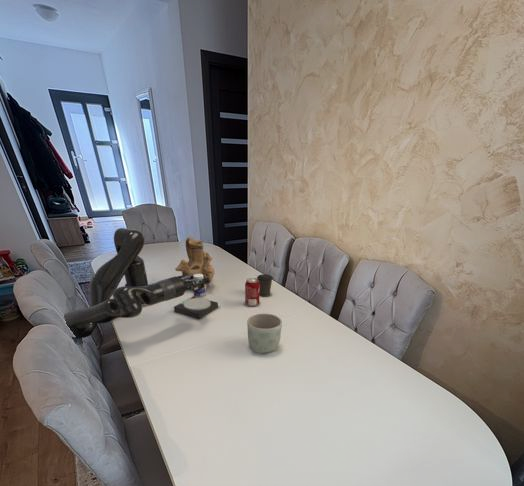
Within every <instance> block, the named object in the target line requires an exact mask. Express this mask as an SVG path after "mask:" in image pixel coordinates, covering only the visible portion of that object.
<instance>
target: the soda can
mask: <svg viewBox="0 0 524 486" xmlns="http://www.w3.org/2000/svg"><path fill="white" fill-rule="evenodd" d="M260 297H261V296H260V283H259V282H258V279H257V277H256V278H255V277H248V278H247V279H246V281H245V283H244V302H245V305H246V306H249V307H257V306H258V305H260Z"/></svg>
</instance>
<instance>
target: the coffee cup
mask: <svg viewBox="0 0 524 486" xmlns="http://www.w3.org/2000/svg"><path fill="white" fill-rule="evenodd" d="M256 279H258V282H259V283H260V297H269V296H270V295H271V288H272V282H273V280H274V277H273V276H272V275H270V274H265V273H264V274H258V275H257V277H256Z"/></svg>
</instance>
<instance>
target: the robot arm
mask: <svg viewBox="0 0 524 486" xmlns="http://www.w3.org/2000/svg"><path fill="white" fill-rule="evenodd" d="M113 244H114V247H115V248H114V249H115V251H116V254H115V255H114V256H113V257H112V258H110V259H109V260H108V261H106V262H104V263H103V264H102V265H101V266H100V267H99V268H97V270H96V271H95V273H94V274H93V277H92V278H91V280H90V282H89V286H88V287H89V288H88V291H89V299H90V300H89V302H90V305H89V307H83V308H78V309H74V310H70V311H67V312H65V313H64V314H63V315H64V318H65V321H66V324H67V326H68V327H69V328H70V330H71V331H72V332H73V334H74V335H75V336H76V337H75V338H74V339H84V338H87V337H90V336H91V335H92V334H93V333H94V331H95V329H96V326H97V324H105V323H109V322H112V321H114V320H116V319H132V318H136V317H138V316H139V315H141V313H142V312H143V307H145V306H153V305H156V304H160V303H163V302H168V301H171V300H174V299H176V298H179V297H182V296H184V295H185V293H186V291H191V290H192V291H193V290H194V292H197V291H199V290H201V289H203V288H205V287H204V284H207V283H209V278H208V277H207V278H203V279H200V280H196V279H194V278H193V275H192V276H190V275H189V276H187V275H182V274H181V275H177V276H171V277H169V278H165V279H161V280H159V281H157V282H153V283H150V284H149V280H148V276H147V270H146V265H145V260H144V259H143V258H142V257H140V256H139V254H141V252H142V250H143V249H144V246H145V235H144V234H143V233H142V232H141V231H139V230H137V229H132V228H126V227H119V228H117V229H116V230H115V232H114V234H113ZM123 278H124V280H125V284H124V285H123V286H119V285H120V283H121V281H122V279H123ZM193 282H194V285H193ZM197 282H199V283H197ZM209 284H210V283H209ZM112 296H113V298H112Z"/></svg>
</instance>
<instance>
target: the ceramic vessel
mask: <svg viewBox="0 0 524 486" xmlns="http://www.w3.org/2000/svg"><path fill="white" fill-rule="evenodd" d="M185 250H186V255H187V259H188V261H186V260H185V259H181V260H180V263H179V264H178V265H177V266H176V267H175V268H174V270H175V271H176V272H181V276H182V275H187V276H189V275H190V276H192V275H195V274H203V277H204V278H207V277H208V278H209V283H207V284H206V289H207V288H208V287H209V284H211V283H212V281H213V279H214V276H215V269H214V267H213V264H211V262H212V260H213V258H214V257H212V256H211V255H210V253H209V252H205V251H204V243H203V240H196V239H195V238H194V237H192V236H189V237H187V238H186V239H185Z"/></svg>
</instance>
